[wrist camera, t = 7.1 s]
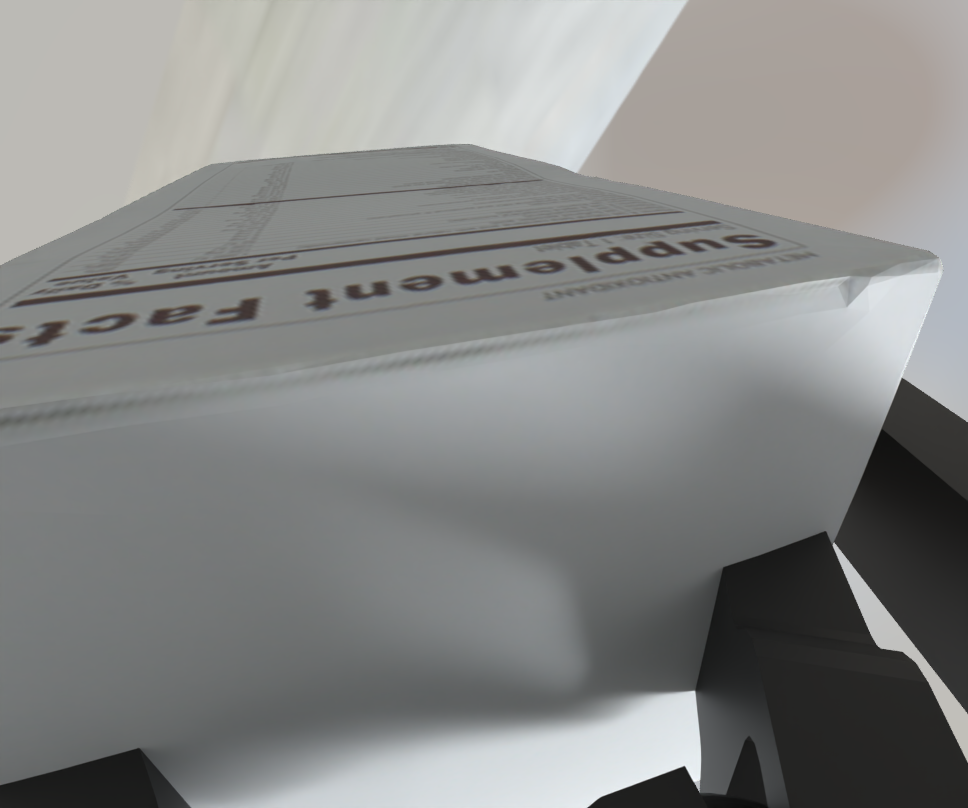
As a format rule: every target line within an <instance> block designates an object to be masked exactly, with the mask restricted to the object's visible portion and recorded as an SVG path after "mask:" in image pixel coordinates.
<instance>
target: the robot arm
mask: <svg viewBox="0 0 968 808" xmlns="http://www.w3.org/2000/svg"><path fill="white" fill-rule="evenodd" d="M834 542H835V544H836V545H837V546H838V547H839V549H840V550H841V551H842V553H843V554H844V555H845V557H846V558H847V559H848V560H849V562H850V563H851V564H852V566H853V567H854V568H855V569H856V571H857V572H858V573H859V575H860V576H861V577H862V578H863V580H864V581H865V582H866V584H867V585H868V586H869V587H870V589H871V590H872V591H873V593H874V594H875V595H876V596H877V598H878V599H879V600H880V602H881V603H882V604H883V605H884V607H885V608H886V609H887V611H888V612H889V613H890V614H891V616H892V617H893V618H894V620H895V621H896V622H897V623H898V625H899V626H900V627H901V628H902V630H903V631H904V632H905V633H906V635H907V636H908V638H909V639H910V640H911V641H912V643H913V644H914V645H915V647H916V648H917V649H918V650H919V652H920V653H921V654H922V655H923V657H924V658H925V659H926V661H927V662H928V663H929V665H930V666H931V667H932V668H933V670H934V671H935V672H936V673H937V675H938V676H939V677H940V679H941V680H942V681H943V682H944V684H945V685H946V686H947V687H948V689H949V690H950V691H951V693H952V694H953V695H954V696H955V698H956V699H957V700H958V702H959V703H960V704H961V706H962V707H963V708H964V709H965V711H966V712H967V713H968V422H966V421H965V420H963V419H962V418H960V417H959V416H957V415H956V414H955V413H953V412H951V411H950V410H949V409H947V408H946V407H944V406H943V405H941V404H940V403H938V402H937V401H936V400H934V399H932V398H931V397H930V396H928V395H927V394H925V393H924V392H922V391H921V390H919V389H918V388H916V387H915V386H914V385H912V384H911V383H909V382H908V381H906V380H905V379H903V378H901V381H900V384H899V386H898V389H897V391H896V394H895V396H894V399H893V401H892V404H891V406H890V409H889V411H888V414H887V416H886V419H885V421H884V423H883V426H882V428H881V431H880V433H879V436H878V438H877V441H876V443H875V446H874V448H873V451H872V453H871V455H870V458H869V460H868V463H867V465H866V468H865V470H864V473H863V475H862V478H861V480H860V483H859V485H858V488H857V490H856V492H855V494H854V497H853V499H852V501H851V504H850V506H849V508H848V511H847V513H846V515H845V518H844V520H843V522H842V524H841V527H840V529H839V531H838V534H837V536H836V538H835V541H834ZM695 694H696V704H697V713H698V723H699V732H700V744H701V774H700V793H699V791H698V789H697V787H696V785H695V783H694V782H693V780H692V778H691V776H690V774H689V772H688V771H687V769H686V767H685V766H683V767H680V768H677V769H675V770H672V771H669V772H667V773H664V774H661V775H659V776H656V777H653V778H650V779H648V780H645V781H642V782H640V783H637V784H634V785H632V786H629V787H626V788H624V789H621V790H618V791H615V792H613V793H610V794H607V795H605V796H602V797H600V798H599V799H597V800H596V801H595V802H594V803H592V804H591V805H590V806H589V807H587V808H968V763H967V760H966V758H965V756H964V754H963V752H962V750H961V748H960V746H959V744H958V742H957V740H956V738H955V736H954V734H953V732H952V730H951V728H950V726H949V724H948V722H947V720H946V718H945V716H944V714H943V711H942V709H941V708H940V706H939V703H938V701H937V699H936V697H935V695H934V693H933V691H932V689H931V687H930V685H929V683H928V681H927V680H926V678H925V677H924V675H923V674H922V672H921V670H920V669H919V667H918V666H917V664H916V663H915V662H914V661H913V660H912V659H910V658H909V657H908V656H907V655H905V654H904V653H903V652H899V651H892V650H886V649H880V648H879V647H878V646H877V645H876V643H875V641H874V640H873V638H872V636H871V634H870V632H869V630H868V627H867V625H866V623H865V621H864V618H863V616H862V614H861V611H860V609H859V606H858V604H857V602H856V600H855V597H854V595H853V593H852V590H851V588H850V585H849V584H848V581H847V578H846V576H845V574H844V571H843V569H842V567H841V565H840V562H839V560H838V558H837V555H836V553H835V551H834V548H833V546H832V543H831V541H830V539H829V537H828V534H827V532H826V531H824V532H821V533H819V534H816V535H813V536H810V537H808V538H805V539H802V540H800V541H797V542H794V543H791V544H789V545H786V546H783V547H780V548H778V549H775V550H772V551H770V552H767V553H764V554H761V555H758V556H755V557H752V558H749V559H746V560H743V561H740V562H737V563H734V564H731V565H728V566H725V567H723V570H722V574H721V579H720V583H719V588H718V592H717V597H716V601H715V606H714V610H713V615H712V619H711V623H710V628H709V632H708V637H707V641H706V645H705V650H704V654H703V659H702V663H701V667H700V672H699V676H698V681H697V685H696V689H695ZM0 808H191V807H190V806H189V805H188V803H187V802H186V801H185V800H184V799H183V798H182V797H181V795H180V794H179V793H178V792H177V791H176V790H175V788H174V787H173V786H172V785H171V784H170V783H169V781H168V780H167V779H166V778H165V777H164V776H163V775H162V773H161V772H160V771H159V770H158V769H157V768H156V766H155V765H154V764H153V763H152V762H151V761H150V759H149V758H148V757H147V756H146V755H145V754H144V752H143V751H142V750H141V749H140V748H137V749H133V750H130V751H126V752H122V753H119V754H115V755H111V756H108V757H104V758H101V759H97V760H93V761H90V762H86V763H82V764H79V765H75V766H72V767H68V768H64V769H61V770H57V771H53V772H49V773H46V774H42V775H38V776H34V777H30V778H26V779H22V780H18V781H15V782H11V783H7V784H3V785H0Z"/></svg>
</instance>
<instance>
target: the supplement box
mask: <svg viewBox="0 0 968 808" xmlns="http://www.w3.org/2000/svg"><path fill="white" fill-rule="evenodd" d="M942 273H943V267H942V262H941V260H940V258H939V257H937V256H936V255H934V254H933V253H931V252H930V251H927V250H922V249H918V248H914V247H909V246H905V245H901V244H896V243H892V242H888V241H883V240H879V239H875V238H870V237H866V236H862V235H857V234H853V233H848V232H844V231H840V230H835V229H831V228H826V227H822V226H818V225H813V224H809V223H804V222H800V221H795V220H791V219H787V218H782V217H777V216H773V215H769V214H764V213H760V212H755V211H751V210H746V209H742V208H738V207H733V206H729V205H724V204H720V203H716V202H712V201H708V200H703V199H699V198H694V197H690V196H685V195H681V194H676V193H671V192H667V191H661V190H658V189H653V188H648V187H643V186H639V185H634V184H627V183H621V182H615V181H611V180H606V179H602V178H598V177H589V176H584V175H581V174H577V173H574V172H572V171H569V170H567V169H565V168H562V167H560V166H556V165H552V164H548V163H545V162H540V161H536V160H532V159H527V158H523V157H518V156H514V155H510V154H506V153H501V152H497V151H493V150H489V149H486V148H482V147H479V146H475V145H471V144H451V145H433V146H419V147H406V148H394V149H382V150H370V151H357V152H344V153H331V154H318V155H305V156H294V157H282V158H270V159H259V160H248V161H237V162H227V163H218V164H211V165H208V166H206V167H203V168H201V169H199V170H197V171H195V172H193V173H191V174H189V175H187V176H184V177H183V178H181V179H178V180H176V181H175V182H173V183H170V184H168V185H166V186H164V187H162V188H161V189H159V190H156V191H155V192H152V193H150V194H148V195H147V196H145V197H142V198H140V199H139V200H137V201H134V202H132V203H131V204H129V205H127V206H125V207H123V208H121V209H119V210H117V211H115V212H113V213H111V214H109V215H107V216H105V217H103V218H102V219H100V220H97V221H95V222H93V223H91V224H89V225H86V226H84V227H82V228H80V229H78V230H76V231H74V232H72V233H70V234H67V235H65V236H63V237H61V238H59V239H57V240H54V241H52V242H50V243H48V244H45V245H43V246H41V247H39V248H36V249H34V250H32V251H30V252H28V253H26V254H23V255H21V256H19V257H17V258H15V259H13V260H11V261H9V262H7V263H5V264H3V265H0V785H3V784H7V783H11V782H15V781H18V780H22V779H26V778H30V777H34V776H38V775H42V774H46V773H49V772H53V771H57V770H61V769H64V768H68V767H72V766H75V765H79V764H82V763H86V762H90V761H93V760H97V759H101V758H104V757H108V756H111V755H115V754H119V753H122V752H126V751H130V750H133V749H137V748H140V749H141V750H142V751H143V752H144V754H145V755H146V756H147V757H148V758H149V759H150V761H151V762H152V763H153V764H154V765H155V766H156V768H157V769H158V770H159V771H160V772H161V773H162V775H163V776H164V777H165V778H166V779H167V780H168V781H169V783H170V784H171V785H172V786H173V787H174V788H175V790H176V791H177V792H178V793H179V794H180V795H181V797H182V798H183V799H184V800H185V801H186V802H187V803H188V805H189V806H190V807H191V808H587V807H589V806H590V805H591V804H592V803H594V802H595V801H596V800H597V799H599V798H600V797H602V796H605V795H607V794H610V793H613V792H615V791H618V790H621V789H624V788H626V787H629V786H632V785H634V784H637V783H640V782H642V781H645V780H648V779H650V778H653V777H656V776H659V775H661V774H664V773H667V772H669V771H672V770H675V769H677V768H680V767H683V766H685V767H686V769H687V771H688V772H689V774H690V776H691V778H692V780H693V782H695V781H698V780H700V774H701V744H700V732H699V723H698V713H697V704H696V694H695V689H696V685H697V681H698V676H699V672H700V667H701V663H702V659H703V654H704V650H705V645H706V641H707V637H708V632H709V628H710V623H711V619H712V615H713V610H714V606H715V601H716V597H717V592H718V588H719V583H720V579H721V574H722V570H723V567H725V566H728V565H731V564H734V563H737V562H740V561H743V560H746V559H749V558H752V557H755V556H758V555H761V554H764V553H767V552H770V551H772V550H775V549H778V548H780V547H783V546H786V545H789V544H791V543H794V542H797V541H800V540H802V539H805V538H808V537H810V536H813V535H816V534H819V533H821V532H824V531H826V532H827V534H828V537H829V539H830V541H831V543H832V545H833V543H834V541H835V538H836V536H837V534H838V531H839V529H840V527H841V524H842V522H843V520H844V518H845V515H846V513H847V511H848V508H849V506H850V504H851V501H852V499H853V497H854V494H855V492H856V490H857V488H858V485H859V483H860V480H861V478H862V475H863V473H864V470H865V468H866V465H867V463H868V460H869V458H870V455H871V453H872V451H873V448H874V446H875V443H876V441H877V438H878V436H879V433H880V431H881V428H882V426H883V423H884V421H885V419H886V416H887V414H888V411H889V409H890V406H891V404H892V401H893V399H894V396H895V394H896V391H897V389H898V386H899V384H900V381H901V378H902V376H903V373H904V371H905V368H906V366H907V363H908V361H909V358H910V355H911V353H912V351H913V348H914V346H915V343H916V340H917V338H918V335H919V333H920V330H921V327H922V325H923V322H924V320H925V317H926V315H927V312H928V309H929V307H930V304H931V301H932V299H933V296H934V294H935V291H936V289H937V286H938V283H939V281H940V278H941V275H942Z"/></svg>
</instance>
